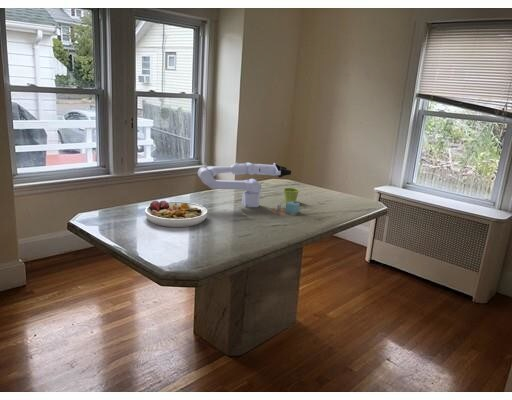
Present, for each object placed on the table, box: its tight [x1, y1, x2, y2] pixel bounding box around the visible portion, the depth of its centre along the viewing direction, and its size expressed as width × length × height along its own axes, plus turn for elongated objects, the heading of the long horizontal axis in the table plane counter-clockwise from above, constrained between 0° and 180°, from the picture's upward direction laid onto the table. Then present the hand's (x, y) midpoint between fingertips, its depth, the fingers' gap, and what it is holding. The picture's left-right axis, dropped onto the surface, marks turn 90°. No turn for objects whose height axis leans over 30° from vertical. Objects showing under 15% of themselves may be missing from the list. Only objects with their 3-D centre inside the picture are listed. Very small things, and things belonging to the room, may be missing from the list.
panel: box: [268, 207, 303, 216], centre depth 231 cm, size 15×13×1 cm
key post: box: [275, 203, 282, 211], centre depth 232 cm, size 2×1×4 cm, turn 110°
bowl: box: [144, 200, 208, 228], centre depth 209 cm, size 30×30×8 cm
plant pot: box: [282, 187, 300, 204], centre depth 250 cm, size 9×9×9 cm
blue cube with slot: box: [285, 201, 301, 214], centre depth 229 cm, size 5×5×5 cm
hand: (288, 171), depth 239 cm, fingers open, 7 cm apart
